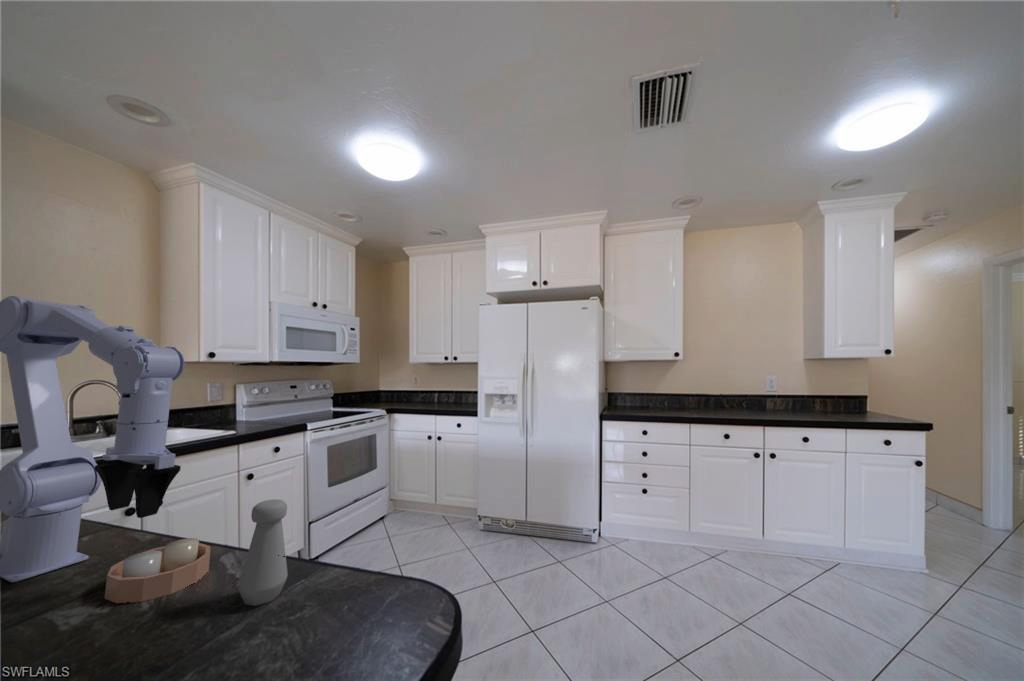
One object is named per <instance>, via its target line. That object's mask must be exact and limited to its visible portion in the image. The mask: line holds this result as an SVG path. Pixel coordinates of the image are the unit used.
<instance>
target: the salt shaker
mask: <svg viewBox="0 0 1024 681" xmlns="http://www.w3.org/2000/svg"><path fill="white" fill-rule="evenodd" d="M287 510H288V504H287V503H286V501H285V500H283V499H276V498H274V499H268V500H263V501H261V502H258V503H256V505H254V506H253V507H252V509H251V513H250V514H251V521H252V523H255V524H256V525H255V527H254V528H255V529H254V531H253V535H252V538H251V541H250V543H249V544H250V545H249V548H248V552H247V555H246V558H245V562H244V564H243V569H242V570H241V574H240V578H239V581H238V589H239V590H238V592H239V594H240V597H241V598H242V600H243V603H244V605H247V606H253V607H258V606H261V605H265V604H268V603H270V602H273V601H274V600H275V599H276V598H277V597H278V596H279V595H280V594H281V591H282V589H283V587H284V585H285V584H286V581H287V579H288V565H287V557H286V546H285V539H284V530H283V521H282V520H283V519H284V518H285V516H286V515H287V512H288V511H287ZM278 555H279V556H278ZM283 556H285V557H283Z"/></svg>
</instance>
